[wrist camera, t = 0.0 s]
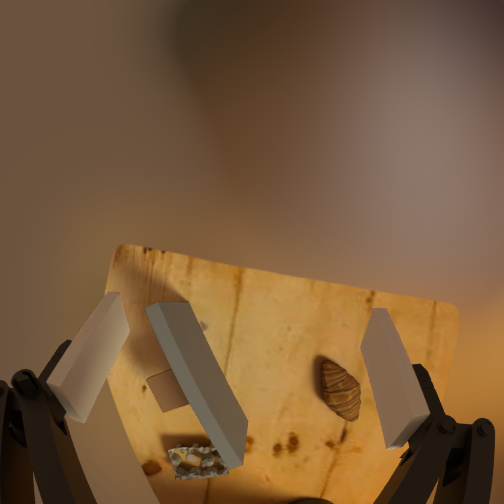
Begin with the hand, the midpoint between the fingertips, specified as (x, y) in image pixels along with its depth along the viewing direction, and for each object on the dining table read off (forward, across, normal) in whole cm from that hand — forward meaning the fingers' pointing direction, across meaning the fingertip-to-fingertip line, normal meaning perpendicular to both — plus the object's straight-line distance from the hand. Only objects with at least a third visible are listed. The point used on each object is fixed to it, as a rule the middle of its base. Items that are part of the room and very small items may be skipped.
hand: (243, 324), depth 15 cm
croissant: (+21, -16, +33) cm, 42 cm away
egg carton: (+12, +9, +46) cm, 48 cm away
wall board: (+21, +10, +32) cm, 40 cm away
